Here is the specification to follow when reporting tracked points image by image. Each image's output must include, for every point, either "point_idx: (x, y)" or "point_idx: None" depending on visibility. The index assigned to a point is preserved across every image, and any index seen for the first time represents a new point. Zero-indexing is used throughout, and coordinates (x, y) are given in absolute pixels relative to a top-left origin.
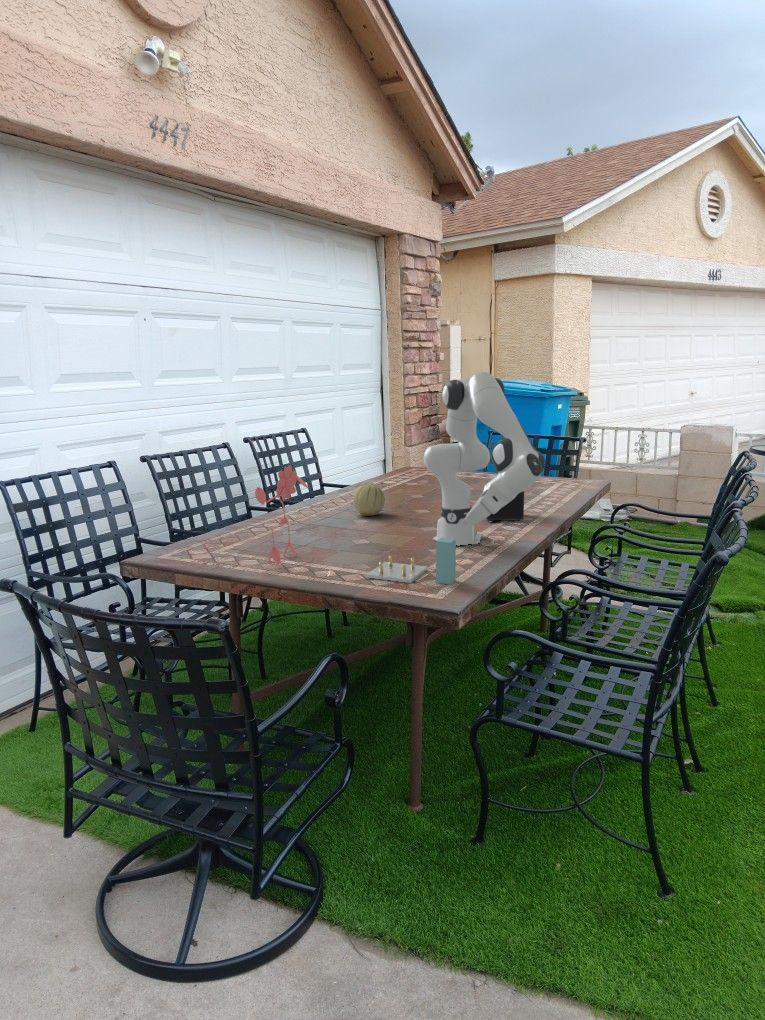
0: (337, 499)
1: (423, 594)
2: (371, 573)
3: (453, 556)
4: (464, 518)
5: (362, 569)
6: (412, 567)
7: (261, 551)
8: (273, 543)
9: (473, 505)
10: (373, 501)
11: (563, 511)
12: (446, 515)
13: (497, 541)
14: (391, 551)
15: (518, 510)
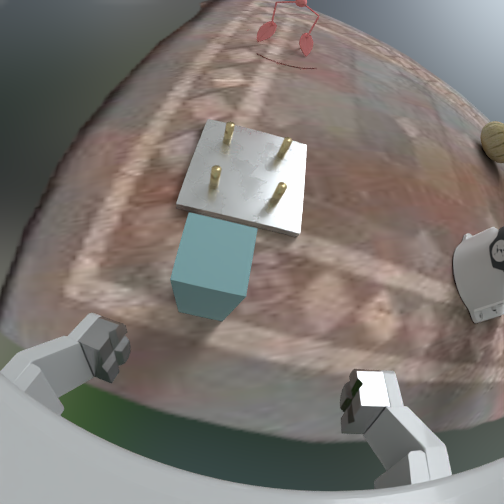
0: None
1: (93, 247)
2: (216, 126)
3: (206, 303)
4: (88, 338)
5: (264, 117)
6: (271, 198)
7: None
8: (272, 17)
9: (398, 390)
10: (496, 143)
11: None
12: (500, 237)
13: (488, 351)
14: (388, 163)
15: None
